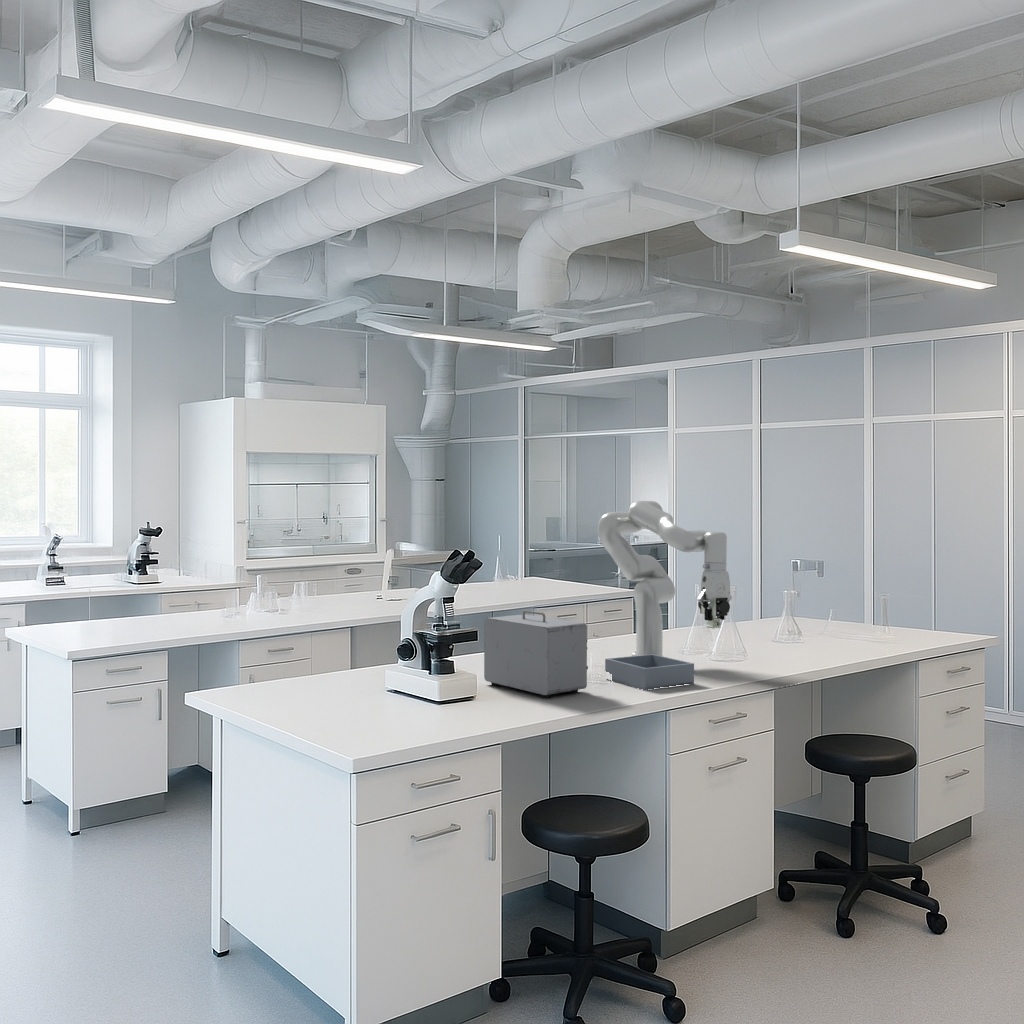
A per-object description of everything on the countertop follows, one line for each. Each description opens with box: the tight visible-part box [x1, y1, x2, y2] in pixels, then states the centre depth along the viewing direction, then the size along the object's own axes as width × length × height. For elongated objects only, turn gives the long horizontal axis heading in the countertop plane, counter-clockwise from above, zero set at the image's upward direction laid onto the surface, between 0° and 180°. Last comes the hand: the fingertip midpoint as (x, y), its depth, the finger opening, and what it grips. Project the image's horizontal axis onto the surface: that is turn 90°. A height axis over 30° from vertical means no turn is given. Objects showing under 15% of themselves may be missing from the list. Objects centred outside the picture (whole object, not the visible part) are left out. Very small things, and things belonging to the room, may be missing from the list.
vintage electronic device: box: [483, 609, 589, 699], centre depth 314 cm, size 32×18×25 cm, turn 39°
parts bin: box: [604, 654, 695, 691], centre depth 325 cm, size 22×20×7 cm
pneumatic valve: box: [697, 597, 731, 630], centre depth 339 cm, size 6×12×12 cm, turn 28°
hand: (714, 619), depth 339 cm, fingers closed on pneumatic valve, 5 cm apart
